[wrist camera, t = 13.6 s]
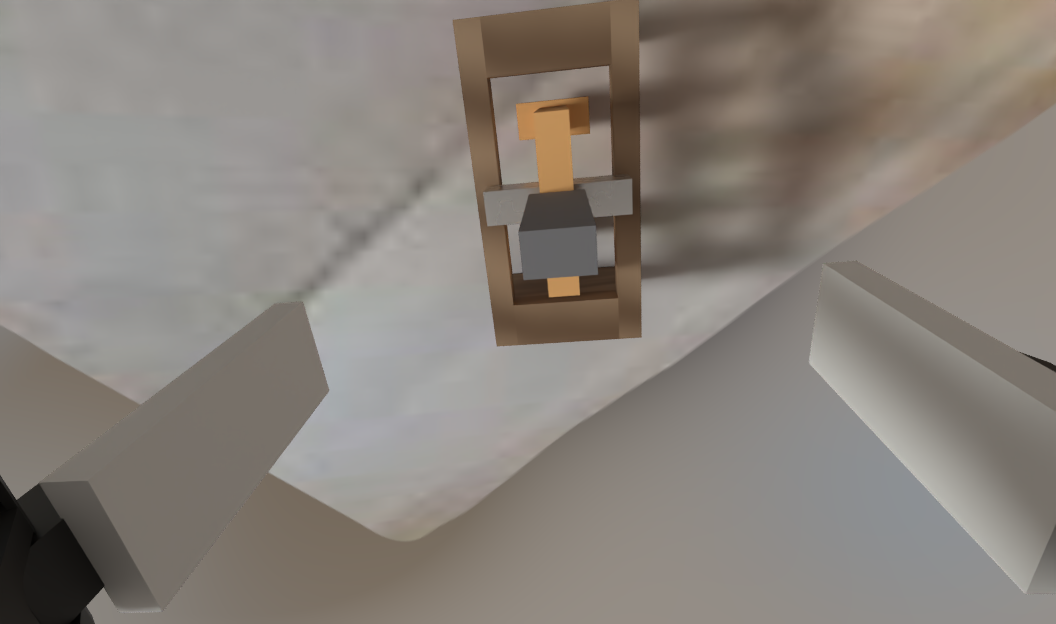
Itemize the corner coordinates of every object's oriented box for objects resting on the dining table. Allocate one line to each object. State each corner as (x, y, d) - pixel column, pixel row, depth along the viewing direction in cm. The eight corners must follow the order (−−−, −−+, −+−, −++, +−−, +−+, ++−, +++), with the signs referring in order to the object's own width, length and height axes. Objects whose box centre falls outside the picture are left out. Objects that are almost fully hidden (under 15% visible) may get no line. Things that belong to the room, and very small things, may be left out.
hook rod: (487, 186, 31) (483, 192, 29) (627, 173, 30) (632, 178, 28) (491, 218, 32) (487, 226, 30) (628, 207, 31) (632, 214, 29)
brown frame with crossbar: (480, 40, 37) (452, 19, 27) (615, 24, 36) (638, -3, 26) (510, 290, 45) (496, 346, 35) (622, 282, 44) (641, 337, 34)
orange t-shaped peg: (517, 103, 36) (477, 113, 18) (587, 96, 36) (619, 98, 17) (531, 248, 40) (510, 375, 22) (593, 243, 40) (625, 369, 22)
